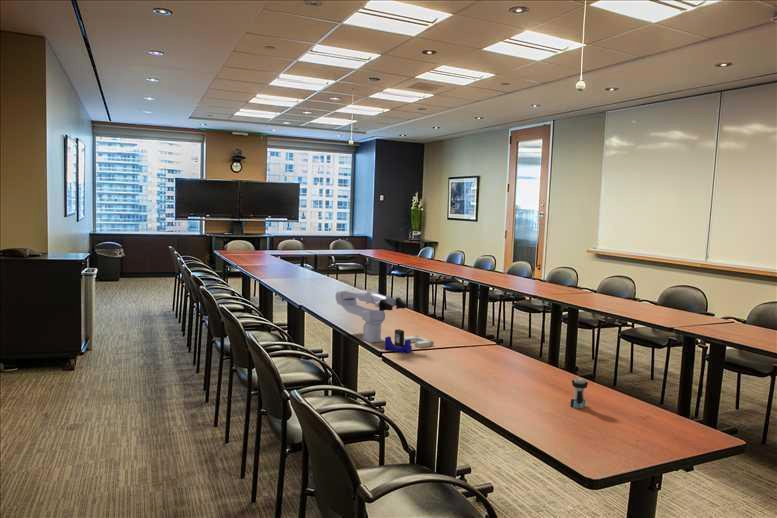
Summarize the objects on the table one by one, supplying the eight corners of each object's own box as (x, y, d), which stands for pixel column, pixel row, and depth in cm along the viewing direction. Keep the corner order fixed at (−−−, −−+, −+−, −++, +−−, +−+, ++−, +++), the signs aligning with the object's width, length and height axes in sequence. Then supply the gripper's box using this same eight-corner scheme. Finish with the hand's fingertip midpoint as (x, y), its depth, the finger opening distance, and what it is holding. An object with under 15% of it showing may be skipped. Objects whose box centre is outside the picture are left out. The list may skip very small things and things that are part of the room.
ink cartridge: (394, 345, 270) (394, 329, 270) (398, 344, 272) (398, 328, 271) (399, 347, 266) (400, 331, 266) (403, 347, 268) (404, 330, 267)
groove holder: (402, 341, 279) (402, 337, 279) (416, 339, 284) (416, 335, 284) (418, 347, 267) (419, 343, 267) (433, 345, 272) (433, 341, 272)
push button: (581, 403, 197) (583, 376, 196) (592, 408, 192) (594, 380, 191) (566, 405, 195) (568, 377, 194) (577, 410, 190) (579, 382, 189)
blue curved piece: (411, 351, 260) (412, 339, 259) (407, 353, 256) (407, 341, 255) (389, 347, 266) (389, 335, 265) (384, 350, 262) (385, 337, 261)
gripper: (370, 294, 267) (386, 300, 256) (394, 291, 275) (410, 297, 264) (369, 308, 268) (385, 315, 257) (393, 305, 276) (410, 311, 266)
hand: (398, 307), depth 261 cm, fingers open, 7 cm apart
